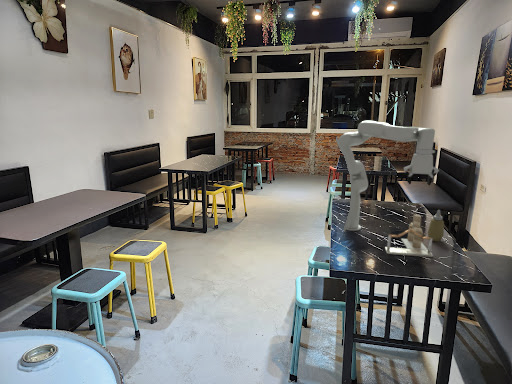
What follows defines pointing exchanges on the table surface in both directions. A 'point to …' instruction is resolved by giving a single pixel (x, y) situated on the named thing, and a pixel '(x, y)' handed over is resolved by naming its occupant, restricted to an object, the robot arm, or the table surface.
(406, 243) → the pad
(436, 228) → the squeeze bottle
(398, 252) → the wire
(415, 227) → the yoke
